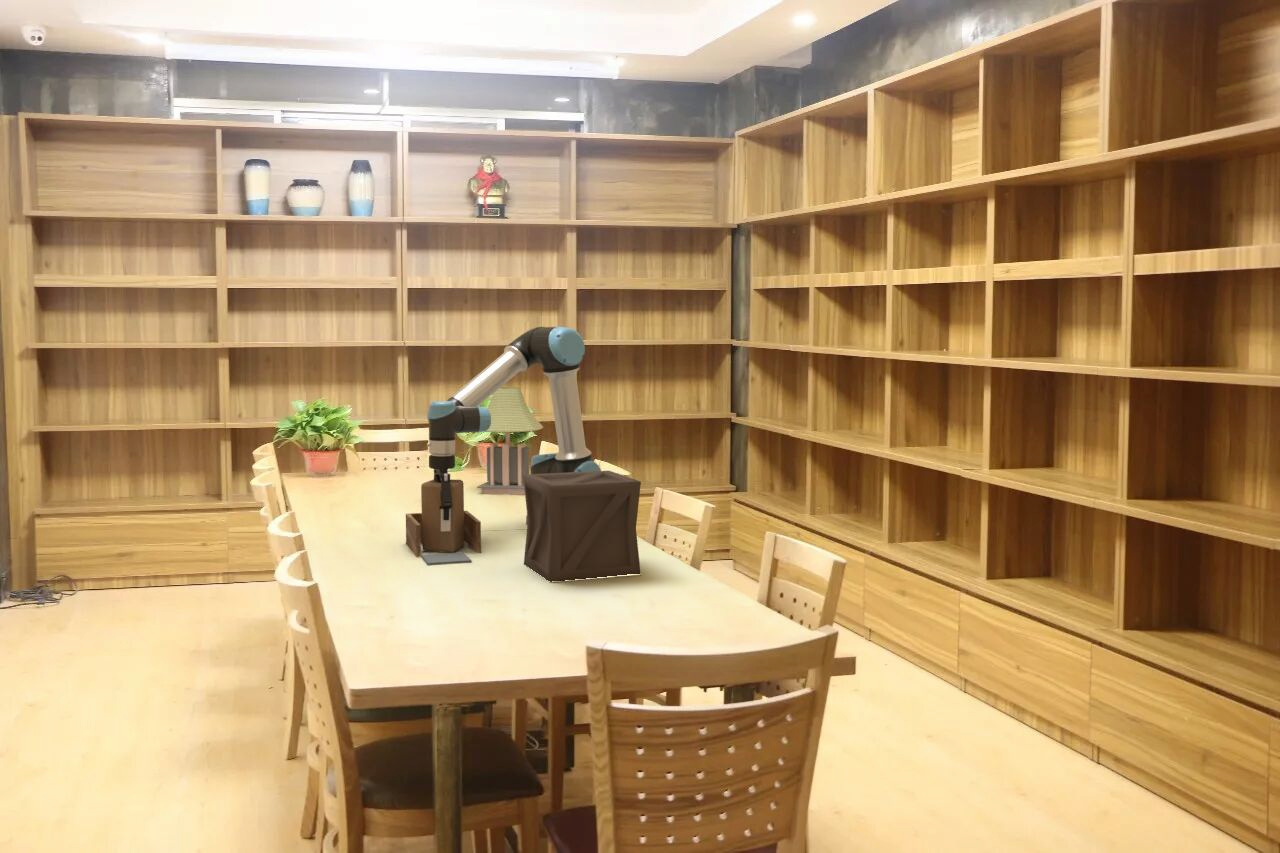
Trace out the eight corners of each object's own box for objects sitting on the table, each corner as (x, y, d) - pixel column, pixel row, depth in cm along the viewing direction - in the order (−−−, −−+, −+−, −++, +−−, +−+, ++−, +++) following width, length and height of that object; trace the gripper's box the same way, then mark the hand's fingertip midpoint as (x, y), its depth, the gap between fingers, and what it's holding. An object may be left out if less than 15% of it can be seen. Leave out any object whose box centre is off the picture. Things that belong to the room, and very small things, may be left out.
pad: (463, 554, 356) (463, 552, 356) (471, 562, 345) (471, 560, 345) (421, 557, 352) (421, 554, 352) (427, 565, 341) (427, 563, 341)
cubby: (467, 540, 379) (467, 510, 378) (481, 552, 359) (480, 521, 358) (406, 543, 373) (405, 513, 372) (416, 556, 353) (416, 525, 352)
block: (454, 553, 359) (453, 483, 357) (421, 551, 360) (419, 483, 359) (465, 546, 368) (464, 479, 367) (433, 545, 370) (432, 478, 368)
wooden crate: (609, 559, 351) (608, 470, 349) (641, 575, 328) (640, 480, 326) (523, 566, 342) (522, 474, 340) (550, 583, 319) (549, 484, 317)
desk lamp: (465, 496, 469) (463, 389, 466) (486, 486, 497) (485, 385, 493) (531, 498, 465) (530, 390, 461) (549, 487, 493) (548, 385, 489)
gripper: (422, 450, 372) (422, 521, 374) (435, 459, 349) (435, 534, 351) (447, 450, 375) (447, 520, 377) (462, 458, 351) (462, 533, 353)
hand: (441, 527), depth 364 cm, fingers open, 13 cm apart
